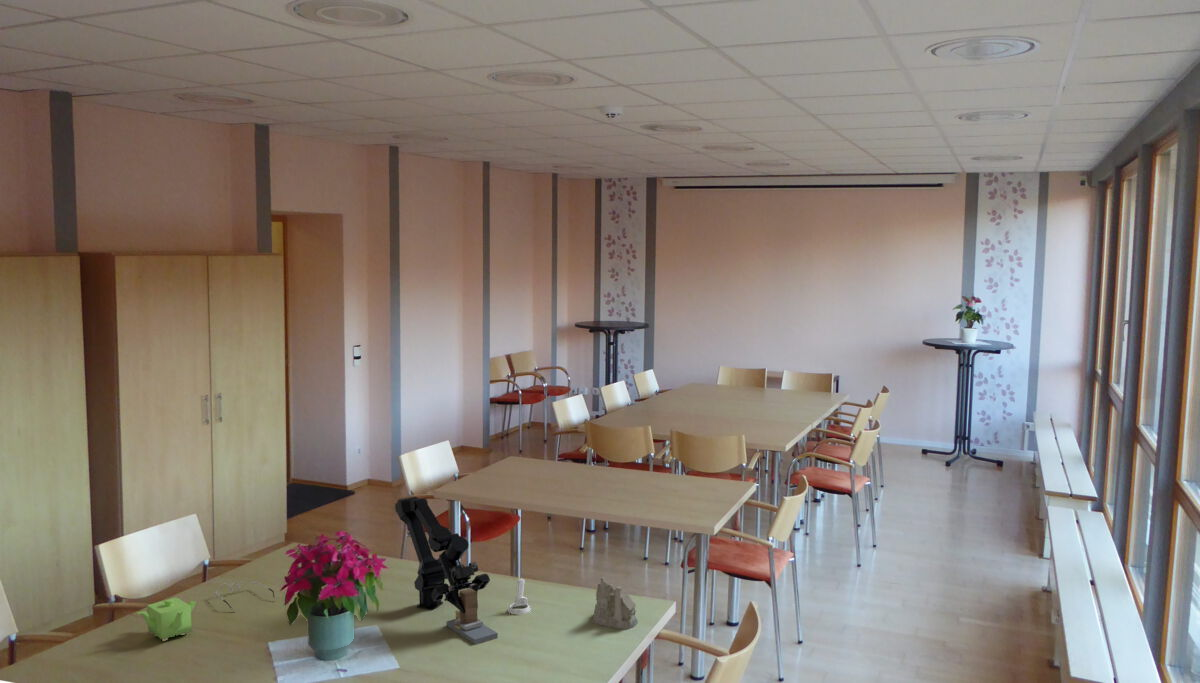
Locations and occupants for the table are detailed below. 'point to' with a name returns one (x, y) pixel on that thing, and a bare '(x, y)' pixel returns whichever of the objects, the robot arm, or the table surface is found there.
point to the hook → (519, 600)
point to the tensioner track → (472, 631)
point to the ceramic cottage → (614, 607)
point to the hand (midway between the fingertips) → (470, 611)
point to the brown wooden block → (468, 610)
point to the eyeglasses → (239, 588)
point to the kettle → (169, 617)
